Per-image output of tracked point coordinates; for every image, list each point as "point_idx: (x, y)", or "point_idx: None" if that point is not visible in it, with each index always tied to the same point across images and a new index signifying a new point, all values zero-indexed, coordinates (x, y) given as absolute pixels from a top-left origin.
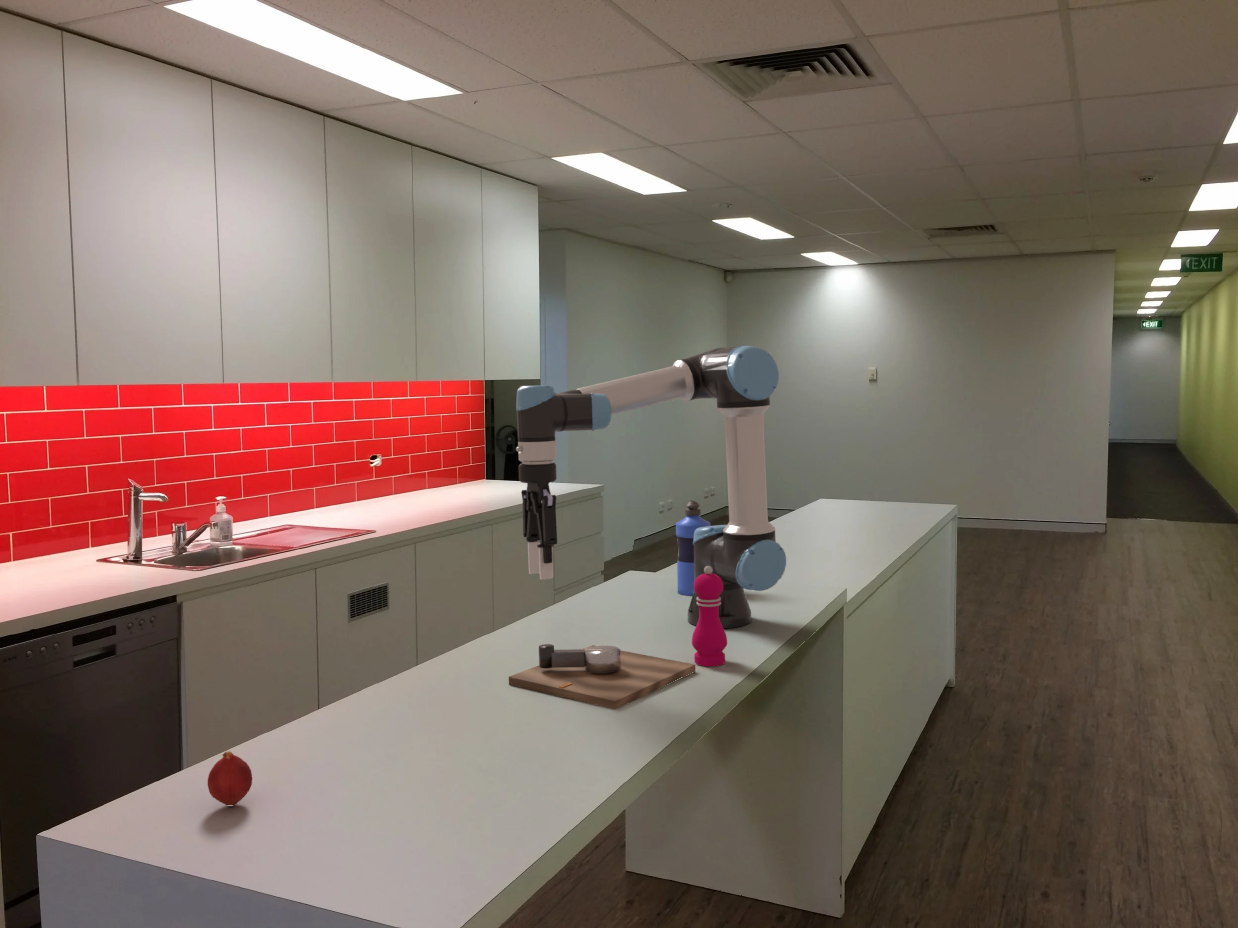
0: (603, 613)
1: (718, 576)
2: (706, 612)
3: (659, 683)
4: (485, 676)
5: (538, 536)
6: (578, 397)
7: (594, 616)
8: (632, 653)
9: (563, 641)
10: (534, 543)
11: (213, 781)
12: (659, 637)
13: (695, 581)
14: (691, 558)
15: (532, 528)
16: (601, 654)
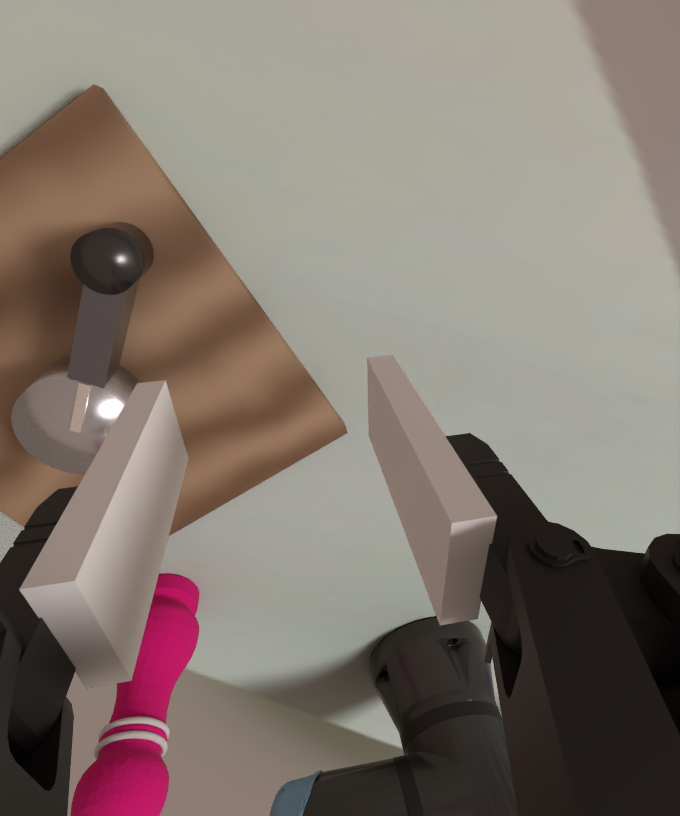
0: (620, 510)
1: None
2: (116, 708)
3: None
4: (229, 24)
5: (495, 664)
6: None
7: (614, 491)
8: (234, 492)
9: (474, 382)
10: (439, 562)
11: None
12: (382, 559)
13: (113, 798)
14: None
15: (542, 774)
16: (25, 416)
